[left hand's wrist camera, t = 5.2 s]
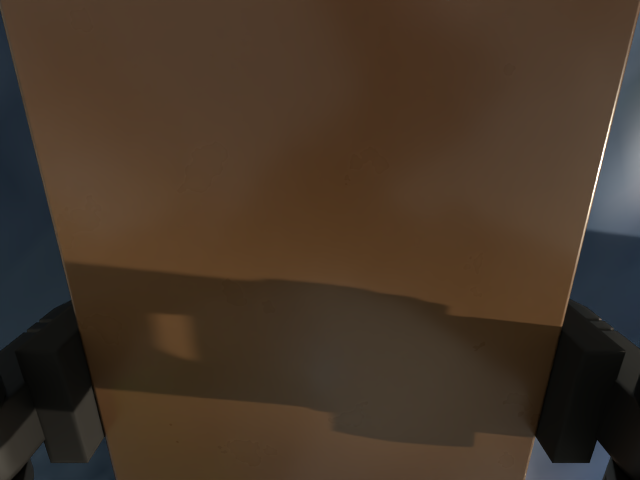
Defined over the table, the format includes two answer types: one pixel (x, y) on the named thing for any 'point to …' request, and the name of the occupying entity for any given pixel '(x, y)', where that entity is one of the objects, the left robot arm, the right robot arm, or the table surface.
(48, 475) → the table surface
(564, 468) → the table surface
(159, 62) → the wide beam
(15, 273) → the table surface
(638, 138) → the table surface
